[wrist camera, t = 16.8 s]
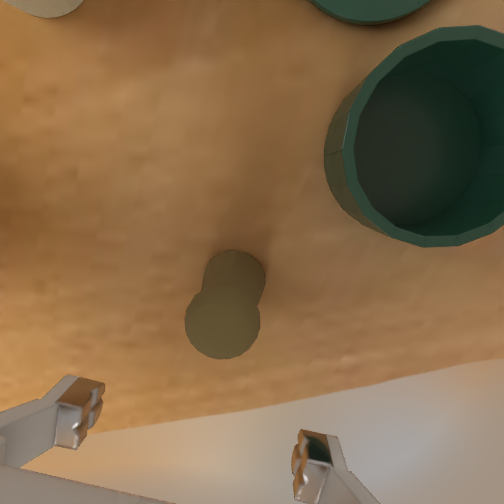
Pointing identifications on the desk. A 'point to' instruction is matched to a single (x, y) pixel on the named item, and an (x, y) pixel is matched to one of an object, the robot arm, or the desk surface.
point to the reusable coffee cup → (45, 7)
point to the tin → (425, 140)
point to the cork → (226, 306)
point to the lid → (369, 10)
